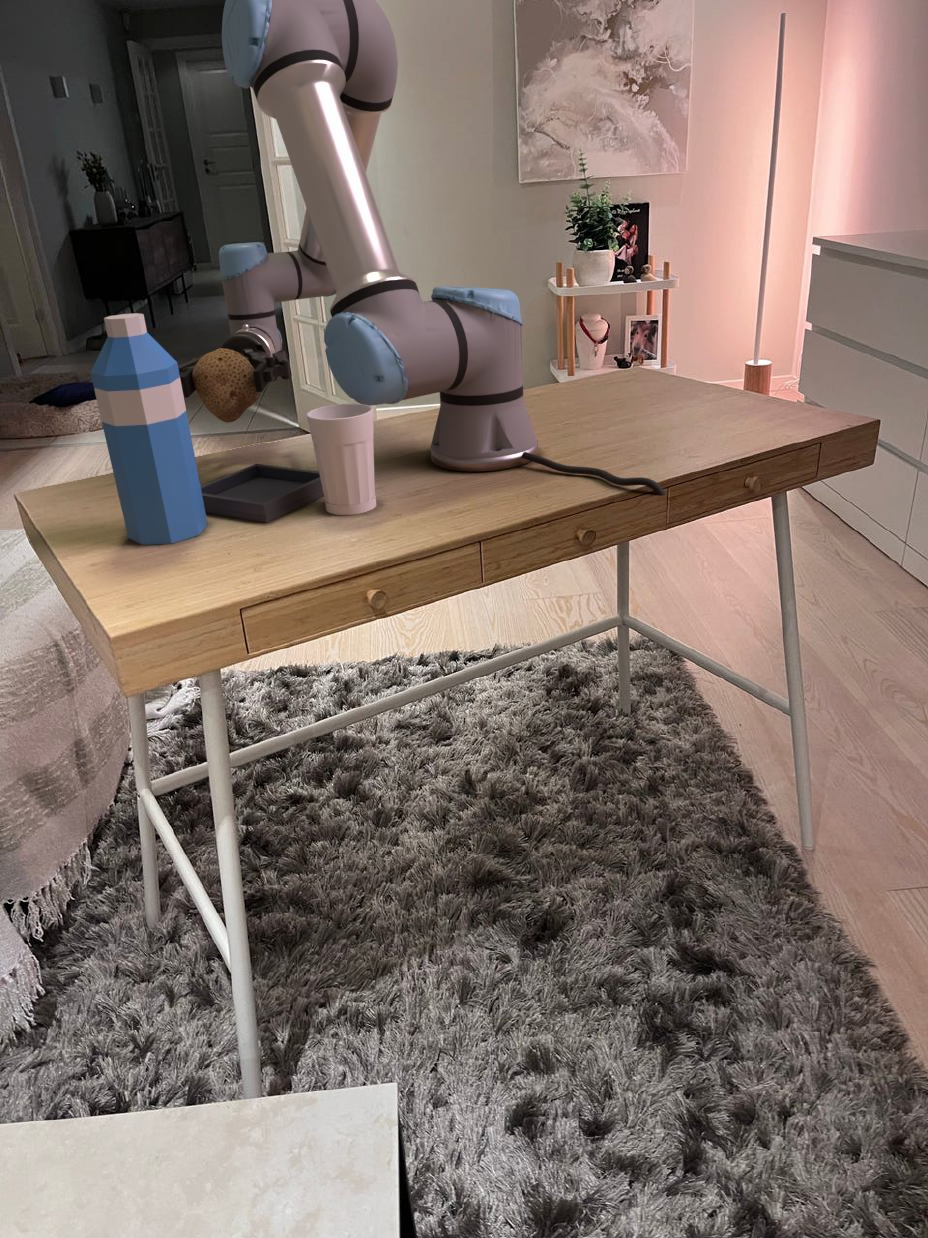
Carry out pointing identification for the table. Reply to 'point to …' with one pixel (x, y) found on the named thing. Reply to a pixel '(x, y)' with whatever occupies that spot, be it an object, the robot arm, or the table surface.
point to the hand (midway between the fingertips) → (220, 384)
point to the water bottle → (147, 435)
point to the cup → (345, 456)
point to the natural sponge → (225, 383)
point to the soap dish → (261, 492)
